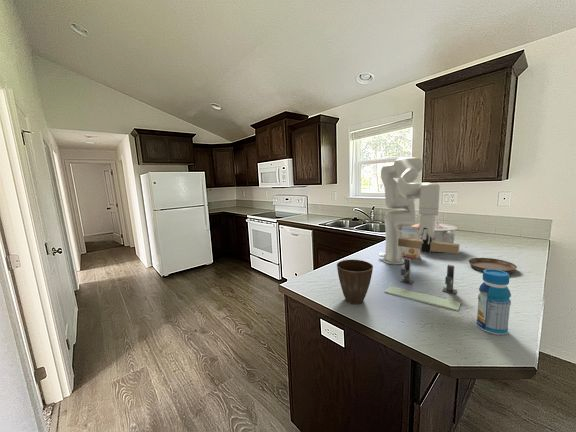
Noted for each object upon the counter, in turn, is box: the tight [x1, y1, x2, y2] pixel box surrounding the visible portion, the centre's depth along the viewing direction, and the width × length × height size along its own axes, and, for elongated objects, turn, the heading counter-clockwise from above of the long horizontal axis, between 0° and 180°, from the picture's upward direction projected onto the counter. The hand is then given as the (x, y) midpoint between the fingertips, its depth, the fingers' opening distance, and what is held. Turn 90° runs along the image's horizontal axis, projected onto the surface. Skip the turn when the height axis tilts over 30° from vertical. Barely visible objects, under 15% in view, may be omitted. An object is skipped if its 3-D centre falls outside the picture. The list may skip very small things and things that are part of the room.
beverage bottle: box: [476, 269, 512, 336], centre depth 83 cm, size 8×8×20 cm
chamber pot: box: [414, 220, 459, 253], centre depth 173 cm, size 28×28×21 cm
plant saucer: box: [468, 257, 518, 274], centre depth 136 cm, size 21×21×3 cm
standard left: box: [400, 257, 414, 285], centre depth 121 cm, size 5×9×12 cm, turn 140°
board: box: [384, 285, 461, 312], centre depth 107 cm, size 28×7×1 cm, turn 50°
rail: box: [398, 237, 461, 255], centre depth 112 cm, size 24×4×4 cm, turn 50°
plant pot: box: [336, 259, 374, 305], centre depth 106 cm, size 15×15×16 cm
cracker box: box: [398, 225, 421, 259], centre depth 162 cm, size 14×6×21 cm, turn 39°
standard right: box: [442, 264, 458, 295], centre depth 109 cm, size 5×9×12 cm, turn 140°
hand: (426, 250), depth 112 cm, fingers closed on rail, 3 cm apart
